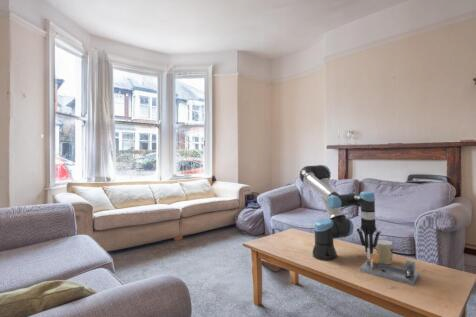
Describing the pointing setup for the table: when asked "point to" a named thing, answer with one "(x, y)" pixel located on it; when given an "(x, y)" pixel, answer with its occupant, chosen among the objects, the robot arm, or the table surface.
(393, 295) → the table surface
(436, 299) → the table surface
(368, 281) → the table surface
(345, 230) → the robot arm
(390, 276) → the plate
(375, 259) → the block
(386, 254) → the coffee cup
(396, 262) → the table surface
